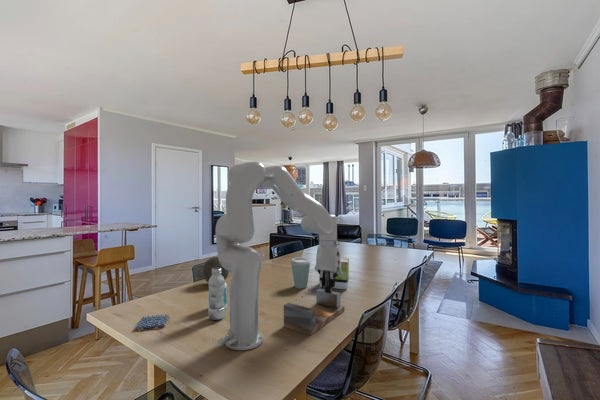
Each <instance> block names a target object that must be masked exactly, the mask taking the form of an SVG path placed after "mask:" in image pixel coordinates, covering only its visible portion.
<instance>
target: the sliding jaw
mask: <svg viewBox="0 0 600 400" xmlns="http://www.w3.org/2000/svg"><path fill="white" fill-rule="evenodd" d="M329 279H331V277H330V271H325V287H324V289H323V288H319V289H316V290H315V293H316V294H315V297H316V298H315V303H317V304H321V305H325V306H329V307H333V308H338V307H340V305H341V292H338V291H333V288H329Z"/></svg>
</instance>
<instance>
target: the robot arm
mask: <svg viewBox="0 0 600 400" xmlns="http://www.w3.org/2000/svg"><path fill="white" fill-rule="evenodd" d="M227 180H228V182H229V185H228V187H227V190H226V193H225V212H226V213H225V214H223V215H222V216H220V217H219V218H218V220H217V221H216V224H215V230H214V231H215V240H216V251H217V257H218V259H219V262H220V264H221V266H222V267H223V268H225V269H227V270H229V272H231V273H232V275H231V279H230V283H229V329H228V330H227V331H226V333H227V334H225V336H223V337H222V338H219V339H218V340H217V344H218V346H219V347H222V346H223V345H225V346H226V347H227V348H229V349H231V350H234V351H247V350H253V349H254V348H258V347H259V346H260V345H262V343H263V342H264V334H263V333H262V332H261V331H260V327H259V326H260V323H259V322H260V320H259V318H260V316H259V315H260V314H259V312H260V311H259V309H260V305H259V303H260V302H259V301H260V300H259V298H260V296H259V292H260V291H259V286H260V285H259V283H260V275H261V274H260V273H261V267H262V258H261V255H260V253H259V252H258V251H257V250H256V249H254V248H253V247H250V246H247V245H243V244H245V243H249V242H250V241H251V240H252V239H253V237H254V234H255V223H254V213H253V212H254V211H253V197H254V194H255V192H256V191H257V190H272V191H273V192H274V193H275V194H276V195H277V197H279V199H280V200H281V201H282V202H283V204H284V205H285V206H286V207H287V208H289V209H290V210H292V211H294V212H296V213H299V214H302V215H304V216H303V217H302V219H301V221H300V227H301V229H302V230H303V231H304V232H306V233H309V234H317V235H318V246H317V249H316V257H315V259H316V260H315V266H314V270H315V271H316V272H317V273H318V274H319V277H321V284H322V287H321V288H325V287H324V286H325V271H330V277H331V279H329V288H332V289H334V288H333V287H334V286H335V278H336V277H337V276H338V275H339V274H341V273H343V272H342V269H341V258H342V257H341V253H340V247H339V246H340V244H341V243H340V242H339V241H338V218H337V217H338V216H336V215H335V214H330V213H329V211H328V210H327V208H326V207H325V206H323V204H321V203H320V202H318V201H317V200H315V199H314V198H313V197H311V196H310V195H309V194H306V193H305V192H304V190H302V188H301V187H300V185H299V184H298V183H297V181H296V180H295V179H294V177H293V176H292V175H291V173H290V172H289V171H288V170H287V168H286V167H284V166H282V165H272V166H264V164H262V163H261V162H259V161H247V162H243V163H239V164H235V165H233V166H232V167H230V169H229V170H228V173H227ZM337 270H338V272H336V271H337Z"/></svg>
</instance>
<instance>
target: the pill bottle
mask: <svg viewBox="0 0 600 400" xmlns="http://www.w3.org/2000/svg"><path fill="white" fill-rule="evenodd" d="M223 278H224V277H223ZM227 299H228V283H226V282H225V286H224V307H225V310H226V309H227V307H228V301H227ZM209 303H210V293H209V292H208V304H209Z"/></svg>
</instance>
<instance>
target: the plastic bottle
mask: <svg viewBox="0 0 600 400" xmlns="http://www.w3.org/2000/svg"><path fill="white" fill-rule="evenodd" d="M221 273H222V271H221V268H219V267H216V268H212V276H211V277H210V279H209V282H207V283H208V294H209V293H210V303H209V302H208V310H207V314H208V319H210V320H212V321H219V320H222V319H223V318H224V317H225V314H226V309H225V307H224V286H225V283H226V280H225V279H224V278H223V276H222V275H221Z"/></svg>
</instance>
